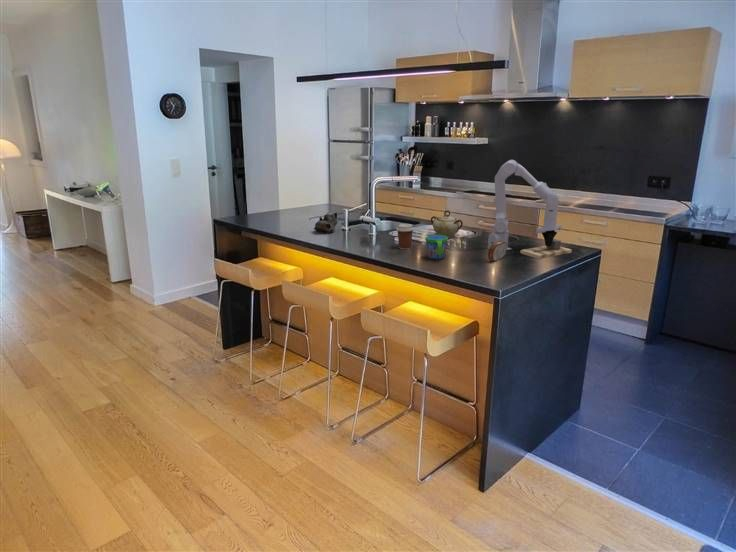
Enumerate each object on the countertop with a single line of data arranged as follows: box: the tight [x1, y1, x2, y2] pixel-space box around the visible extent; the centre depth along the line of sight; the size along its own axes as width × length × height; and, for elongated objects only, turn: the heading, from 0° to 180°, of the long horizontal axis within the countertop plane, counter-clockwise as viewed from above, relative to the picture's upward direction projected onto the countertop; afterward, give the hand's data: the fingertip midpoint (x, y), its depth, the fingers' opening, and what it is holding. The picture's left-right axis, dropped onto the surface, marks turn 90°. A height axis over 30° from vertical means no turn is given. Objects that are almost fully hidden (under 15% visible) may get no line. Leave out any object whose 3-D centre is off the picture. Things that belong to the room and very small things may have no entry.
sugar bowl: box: [430, 210, 464, 239], centre depth 284 cm, size 20×15×15 cm
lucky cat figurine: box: [313, 212, 339, 234], centre depth 303 cm, size 15×12×14 cm
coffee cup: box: [395, 223, 415, 250], centre depth 262 cm, size 9×9×12 cm
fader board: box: [519, 245, 573, 260], centre depth 249 cm, size 22×12×2 cm, turn 117°
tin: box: [487, 241, 507, 262], centre depth 239 cm, size 15×3×8 cm, turn 141°
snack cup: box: [425, 234, 449, 260], centre depth 243 cm, size 16×10×10 cm
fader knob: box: [546, 238, 562, 250], centre depth 250 cm, size 4×5×4 cm
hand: (547, 245), depth 249 cm, fingers closed
